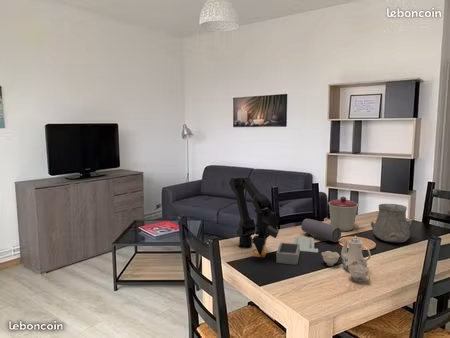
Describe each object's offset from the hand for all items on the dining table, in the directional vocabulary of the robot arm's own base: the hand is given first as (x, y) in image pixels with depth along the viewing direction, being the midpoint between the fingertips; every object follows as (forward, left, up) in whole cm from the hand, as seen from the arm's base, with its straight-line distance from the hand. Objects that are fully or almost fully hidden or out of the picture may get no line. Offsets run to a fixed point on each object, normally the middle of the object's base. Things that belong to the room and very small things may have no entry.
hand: (261, 251), depth 175 cm
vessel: (+68, +41, -2) cm, 79 cm away
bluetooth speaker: (+29, +34, -2) cm, 44 cm away
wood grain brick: (-1, 0, -2) cm, 3 cm away
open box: (+14, 0, -2) cm, 14 cm away
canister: (+42, +56, -2) cm, 70 cm away
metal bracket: (+20, +17, -3) cm, 27 cm away
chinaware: (+42, -7, -3) cm, 43 cm away
